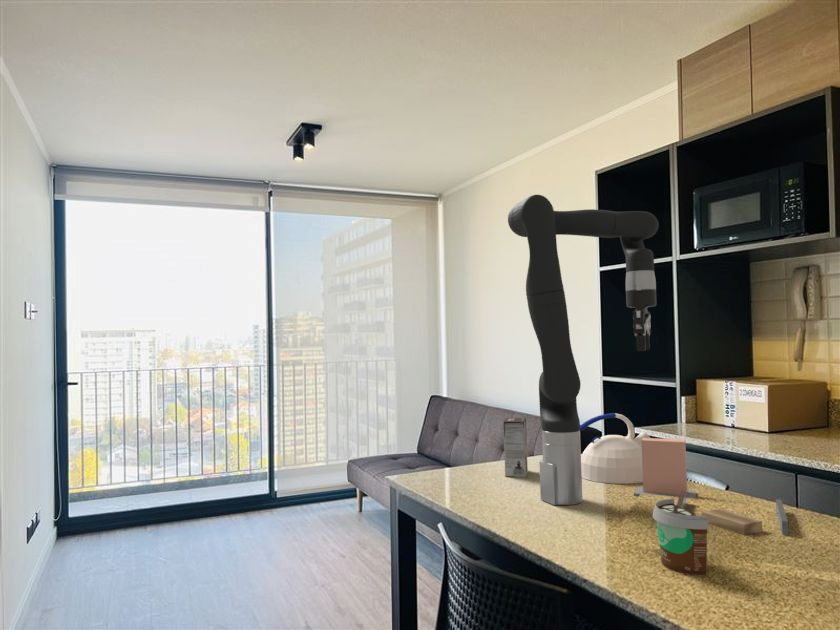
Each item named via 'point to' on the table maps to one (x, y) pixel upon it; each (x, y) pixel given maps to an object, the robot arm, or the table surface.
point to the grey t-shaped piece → (640, 491)
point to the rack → (779, 510)
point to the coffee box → (515, 447)
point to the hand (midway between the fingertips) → (643, 350)
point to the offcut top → (733, 521)
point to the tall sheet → (664, 466)
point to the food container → (681, 538)
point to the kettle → (613, 455)
